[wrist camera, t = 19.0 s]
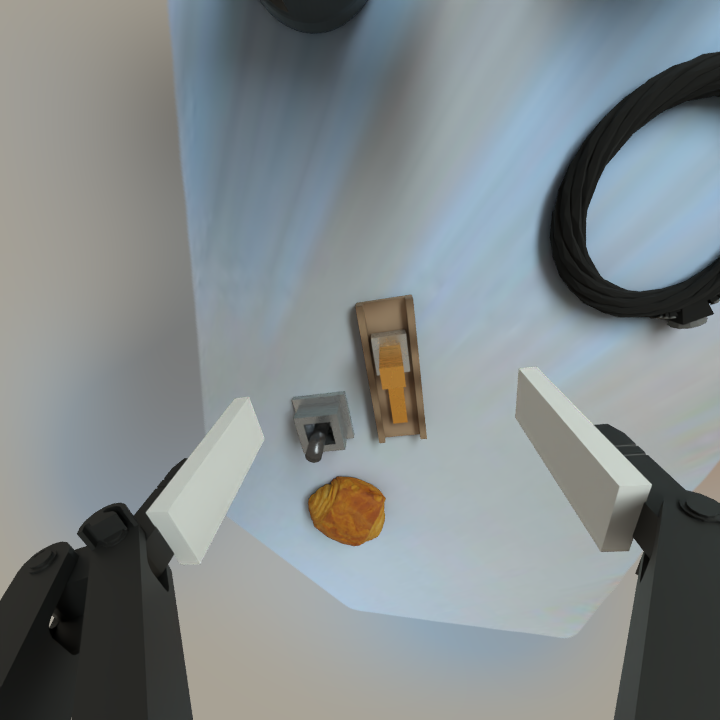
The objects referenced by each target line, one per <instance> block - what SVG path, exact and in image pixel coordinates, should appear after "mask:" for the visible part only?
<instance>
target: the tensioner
mask: <svg viewBox="0 0 720 720" xmlns="http://www.w3.org/2000/svg"><path fill="white" fill-rule="evenodd" d="M371 342H372V348H373V354H374V361H375V367H376V373H377V376H378V375H380V377H381V384H382V390H384V389H388V391H389V398H390V405H391V411H392V418H393V424H395V423H405V422H408V420H407V412H406V404H405V396H404V388H403V387H406V383H405V374H404V372H410V365H409V356H408V347H407V338H406V332H405V329H403V330H395V331H388V332H381V333H374V334H371Z"/></svg>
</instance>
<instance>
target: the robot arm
mask: <svg viewBox="0 0 720 720" xmlns="http://www.w3.org/2000/svg"><path fill="white" fill-rule="evenodd" d="M260 1H261V2H262V4H263V5H264V6H265V7H266V9H267V10H268V11H269V12H270V13H271V14H272V15H273V16H274V17H275V18H277V19H278V20H279V21H281V22H282V23H283V24H285V25H287V26H289V27H291V28H293V29H295V30H298V31H301V32H306V33H323V32H327V31H331V30H333V29H336V28H338V27H340V26H342V25H343V24H345V23H346V22H348V21H349V20H350V19H352V18H353V17H354V16H355V15H356V14H357V13H358V12H359V11H360V10H361V8H362V7H363V6H364V5H365V3H366V2H367V0H260ZM515 418H516V419H517V421H518V422H519V424H520V426H521V427H522V429H523V430H524V432H525V433H526V435H527V437H528V438H529V440H530V441H531V443H532V444H533V446H534V448H535V449H536V451H537V452H538V454H539V455H540V457H541V459H542V460H543V462H544V463H545V465H546V466H547V468H548V470H549V471H550V473H551V474H552V476H553V477H554V479H555V481H556V482H557V484H558V485H559V487H560V488H561V490H562V492H563V493H564V495H565V496H566V498H567V499H568V501H569V503H570V504H571V506H572V507H573V509H574V510H575V512H576V514H577V515H578V517H579V518H580V520H581V521H582V523H583V524H584V526H585V528H586V529H587V531H588V532H589V534H590V535H591V537H592V539H593V540H594V542H595V543H596V545H597V546H598V548H599V550H600V551H601V552H614V551H629V549H630V547H631V544H632V541H633V538H634V539H635V540H636V542H637V543H638V544H639V546H640V547H641V548H642V550H643V551H644V552H643V555H642V557H641V560H640V563H639V565H638V568H637V570H636V574H637V575H638V581H637V586H636V592H635V598H634V604H633V610H632V616H631V622H630V628H629V633H628V639H627V646H626V651H625V657H624V663H623V669H622V674H621V680H620V687H619V693H618V698H617V704H616V710H615V716H614V720H720V503H718V502H717V501H715V500H714V499H711V498H709V497H707V496H704V495H702V494H699V493H695V492H691V491H687V490H685V489H684V488H683V487H682V486H681V485H680V484H678V483H677V482H676V481H675V480H674V479H673V478H672V477H671V476H670V475H669V474H668V473H667V472H666V471H664V470H663V469H662V468H661V467H660V466H659V465H658V464H657V463H656V462H655V461H654V460H653V459H652V458H650V457H649V456H648V455H646V454H645V452H644V451H643V450H642V449H641V448H640V447H639V446H636V444H635V443H634V442H633V441H632V440H631V439H630V438H629V437H628V436H627V435H626V434H625V433H623V432H621V431H620V430H618V429H616V428H614V427H612V426H610V425H609V424H600V425H593V424H592V423H591V422H590V421H589V420H588V419H587V418H586V417H585V416H584V415H583V414H582V413H581V412H580V411H579V410H578V408H577V407H576V406H575V405H574V404H573V403H572V402H571V401H570V400H569V399H568V398H567V397H566V396H565V395H564V394H563V393H562V392H561V391H560V390H559V389H558V388H557V387H556V386H555V385H554V384H553V383H552V382H551V381H550V380H549V379H548V378H547V377H546V376H545V375H544V374H543V373H542V372H541V371H540V370H539V369H538V368H537V367H528V368H519V373H518V387H517V401H516V414H515ZM264 439H265V438H264V436H263V433H262V430H261V428H260V425H259V422H258V420H257V417H256V414H255V412H254V409H253V406H252V404H251V401H250V398H249V397H242V398H235V399H234V400H233V401H232V403H231V404H230V405H229V407H228V408H227V409H226V410H225V412H224V413H223V414H222V416H221V417H220V418H219V419H218V421H217V422H216V423H215V425H214V426H213V427H212V428H211V430H210V431H209V432H208V434H207V435H206V436H205V437H204V439H203V440H202V441H201V442H200V444H199V445H198V447H197V448H196V449H195V450H194V451H193V453H192V454H191V455H190V457H189V458H184V459H183V460H182V461H181V462H179V463H178V464H177V465H176V466H174V467H173V468H172V469H171V470H170V472H169V473H168V474H167V475H166V477H165V478H164V480H162V482H161V483H160V484H159V485H158V486H157V487H158V488H157V489H155V490H154V492H153V493H152V494H151V495H150V496H149V498H148V499H147V500H146V501H145V502H144V504H143V505H142V506H141V507H140V509H139V510H138V511H137V512H136V514H135V515H134V516H133V515H132V513H131V512H130V510H129V509H128V507H127V506H126V505H125V504H123V503H116V504H111V505H109V506H106V507H104V508H102V509H100V510H99V511H97V512H95V513H94V514H93V515H92V516H91V517H89V518H88V519H87V520H86V521H85V522H84V523H83V524H82V526H81V527H80V528H79V531H78V533H77V535H78V536H79V537H80V538H81V539H82V540H83V541H84V543H85V544H86V545H87V546H86V547H83V548H79V549H76V550H74V549H73V548H72V547H71V546H70V545H69V544H68V543H67V542H59V543H55V544H52V545H50V546H48V547H46V548H44V549H42V550H41V551H39V552H38V553H36V554H35V555H34V556H32V557H31V558H30V559H29V560H28V561H27V562H26V563H25V564H24V565H23V566H22V567H21V569H20V570H19V571H18V573H17V574H16V576H15V578H14V579H13V581H12V582H11V584H10V586H9V587H8V589H7V591H6V592H5V594H4V595H3V597H2V599H1V600H0V720H71V718H72V720H193V716H192V710H191V703H190V695H189V688H188V682H187V675H186V667H185V661H184V654H183V647H182V640H181V633H180V626H179V620H178V612H177V605H176V598H175V591H174V585H173V578H172V571H171V569H170V567H169V565H168V563H169V562H170V560H171V558H172V557H173V555H175V557H176V558H177V560H178V561H179V563H180V564H181V565H184V564H185V565H186V564H187V565H188V564H201V562H202V560H203V558H204V556H205V554H206V552H207V550H208V548H209V546H210V544H211V542H212V540H213V539H214V537H215V535H216V533H217V531H218V529H219V527H220V525H221V523H222V521H223V519H224V517H225V515H226V513H227V511H228V509H229V507H230V505H231V504H232V502H233V500H234V498H235V496H236V494H237V492H238V490H239V488H240V486H241V484H242V482H243V480H244V478H245V476H246V474H247V472H248V470H249V468H250V466H251V465H252V463H253V461H254V459H255V457H256V455H257V453H258V451H259V449H260V447H261V445H262V443H263V441H264ZM51 616H53V617H54V620H53V622H52V624H51V626H50V627H49V623H50V619H51Z"/></svg>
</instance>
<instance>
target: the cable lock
mask: <svg viewBox="0 0 720 720" xmlns="http://www.w3.org/2000/svg"><path fill="white" fill-rule="evenodd" d="M712 96H718V97H720V52H715V53H708V54H702V55H700V56H698V57H696V58H694V59H692V60H690V61H687V62H684V63H681V64H678V65H674V66H672V67H670V68H669V69H667V70H665V71H663V72H662V73H660V74H658V75H656V76H654V77H653V78H651V79H649V80H648V81H647V82H646V83H645V84H643V85H641V86H640V87H639V88H637V89H636V90H635V91H633V92H632V93H631V94H629V95H628V96H626V97H625V98H624V99H623V100H622V101H621V102H620V103H619V104H617V105H616V106H615V107H614V108H613V109H612V110H611V111H610V112H609V113H608V114H607V115H606V116H605V117H604V118H603V120H602V121H601V122H599V124H598V125H597V126H596V127H595V129H594V130H593V131H592V132H591V134H590V135H589V136H588V137H587V138H586V140H585V141H584V143H583V144H582V146H581V147H580V149H579V151H578V152H577V154H576V155H575V157H574V159H573V160H572V162H571V164H570V165H569V167H568V170H567V172H566V174H565V177H564V179H563V181H562V183H561V186H560V188H559V191H558V196H557V200H556V204H555V208H554V211H553V214H552V222H551V232H550V240H551V246H552V252H553V258H554V261H555V264H556V266H557V269H558V272H559V275H560V277H561V278H562V280H563V281H564V282H565V284H566V285H567V286H568V288H569V289H570V290H571V291H572V292H573V293H574V294H575V295H576V296H577V297H578V298H579V299H580V300H581V301H582V302H583V303H585V304H587V305H589V306H591V307H593V308H595V309H597V310H599V311H601V312H603V313H606V314H610V315H614V316H618V317H649V318H653V319H667V320H669V321H668V323H667V325H668V326H670V327H673V328H677V329H688V328H693V327H697V326H701V325H703V324H705V323H706V322H707V319H708V318H707V316H710V315H713V314H714V313H713V311H712V309H711V307H710V305H712V304H715V303H718V302H719V301H720V258H719V259H718V260H716V261H715V262H714V263H712V264H711V265H710V266H708V267H707V268H706V269H704V270H703V271H701V272H700V273H698V274H697V275H695V276H693V277H692V278H690V279H688V280H687V281H685V282H682V283H680V284H677V285H673V286H670V287H666V288H662V289H656V290H648V291H641V292H638V291H630V290H626V289H623V288H621V287H619V286H617V285H615V284H613V283H611V282H609V281H607V280H605V279H603V278H602V277H601V276H600V274H599V272H598V271H597V269H596V267H595V265H594V264H593V262H592V260H591V258H590V257H589V255H588V251H587V248H586V217H587V209H588V207H589V204H590V201H591V199H592V196H593V193H594V191H595V188H596V185H597V183H598V180H599V178H600V176H601V174H602V172H603V170H604V168H605V166H606V165H607V164H608V163H609V161H610V160H611V159H612V158H613V157H614V156H615V154H616V153H617V152H618V151H619V150H620V148H621V147H622V146H623V145H624V144H625V143H626V141H627V140H628V139H629V138H630V137H631V136H632V134H633V133H635V132H636V131H637V130H639V129H640V128H641V127H643V126H644V125H645V124H646V123H648V122H649V121H650V120H652V119H653V118H654V117H656V116H657V115H658V114H660V113H662V112H663V111H665V110H667V109H670V108H672V107H674V106H677V105H679V104H681V103H683V102H686V101H691V100H696V99H701V98H707V97H712ZM709 303H711V304H710V305H709Z"/></svg>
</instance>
